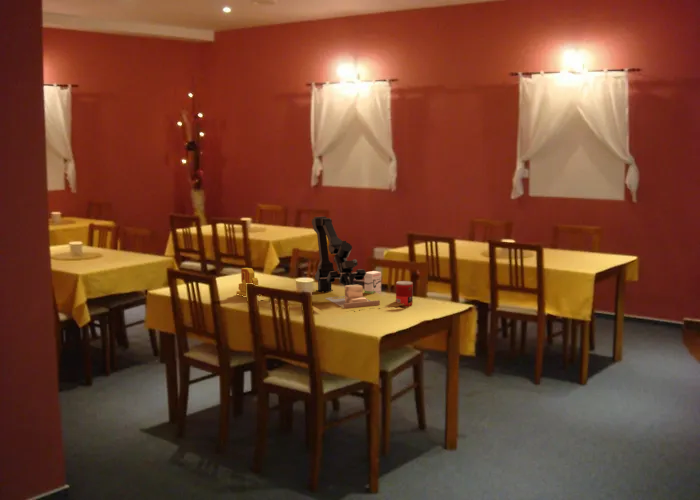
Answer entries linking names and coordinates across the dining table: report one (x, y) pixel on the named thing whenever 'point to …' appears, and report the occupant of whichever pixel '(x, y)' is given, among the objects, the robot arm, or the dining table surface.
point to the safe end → (360, 304)
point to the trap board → (338, 300)
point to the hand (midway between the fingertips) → (351, 289)
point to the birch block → (354, 294)
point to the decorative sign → (246, 280)
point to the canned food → (404, 292)
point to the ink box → (372, 282)
